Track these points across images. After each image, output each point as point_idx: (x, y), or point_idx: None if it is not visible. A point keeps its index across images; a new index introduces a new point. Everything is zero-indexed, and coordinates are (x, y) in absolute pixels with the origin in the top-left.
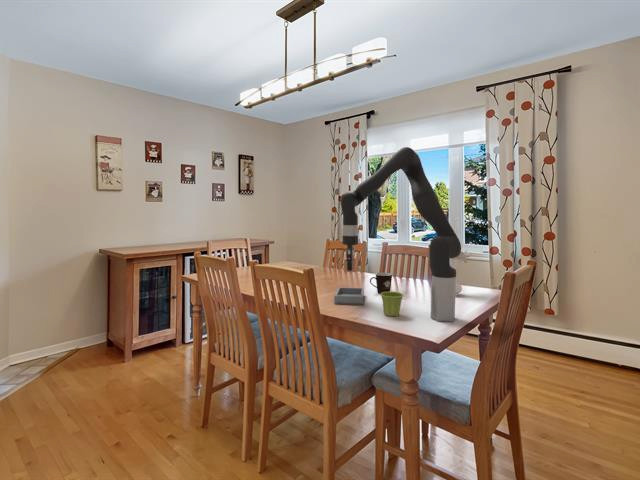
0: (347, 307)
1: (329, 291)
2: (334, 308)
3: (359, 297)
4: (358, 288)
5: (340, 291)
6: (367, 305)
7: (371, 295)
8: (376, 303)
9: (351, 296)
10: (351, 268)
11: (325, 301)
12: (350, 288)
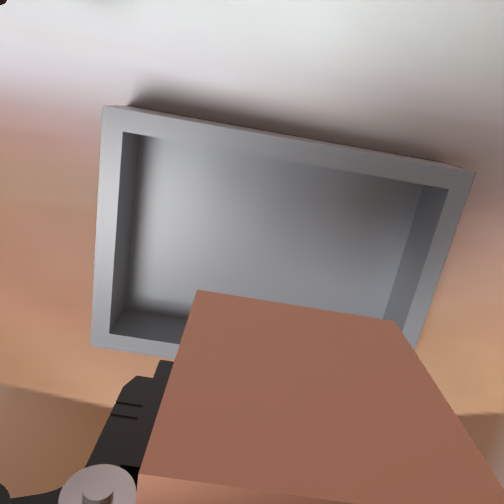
0: (487, 279)
1: (15, 369)
2: (493, 360)
3: (462, 199)
4: (120, 167)
5: (119, 314)
6: (462, 122)
7: (117, 26)
8: (412, 28)
9: (442, 268)
10: None
11: None
12: (116, 244)
